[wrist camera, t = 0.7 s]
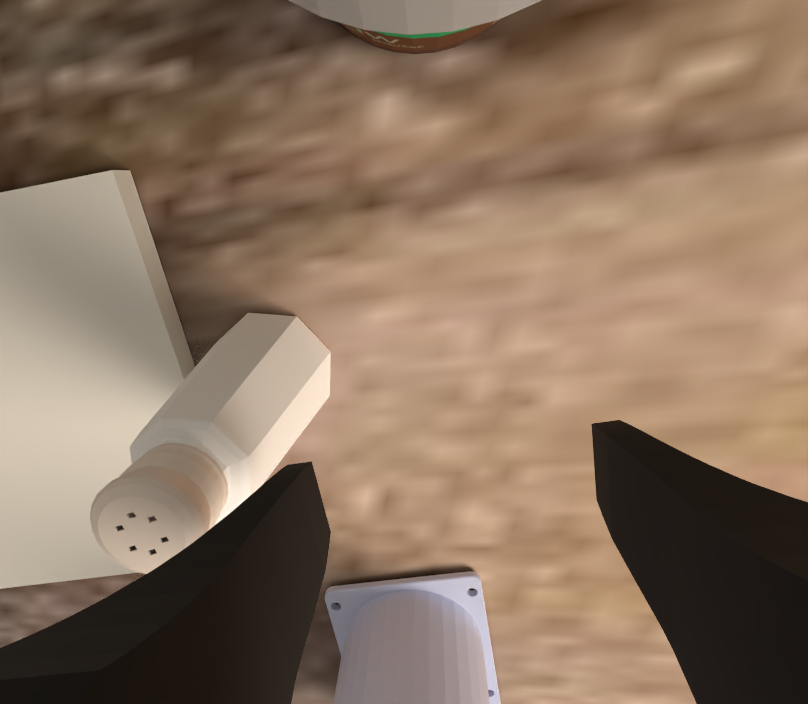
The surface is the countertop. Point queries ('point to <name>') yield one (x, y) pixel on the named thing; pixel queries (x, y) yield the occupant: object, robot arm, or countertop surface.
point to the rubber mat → (76, 365)
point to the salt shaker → (213, 440)
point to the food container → (415, 20)
